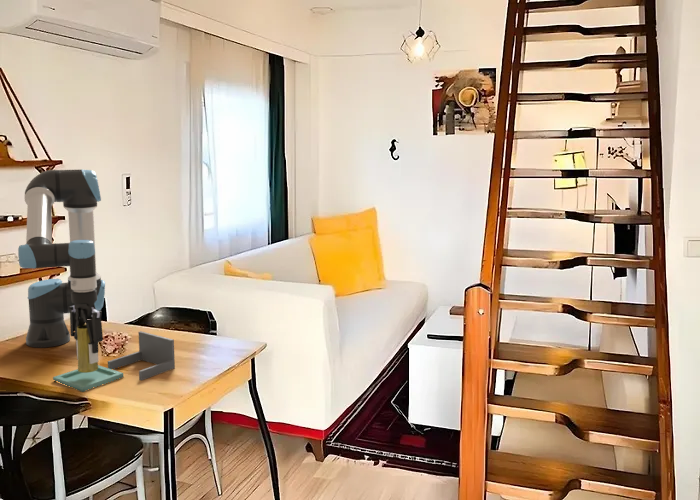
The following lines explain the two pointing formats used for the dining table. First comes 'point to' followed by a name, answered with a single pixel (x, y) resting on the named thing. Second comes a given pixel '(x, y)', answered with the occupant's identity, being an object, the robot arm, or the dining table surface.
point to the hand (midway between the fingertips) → (87, 360)
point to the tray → (88, 378)
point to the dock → (149, 355)
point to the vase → (84, 351)
